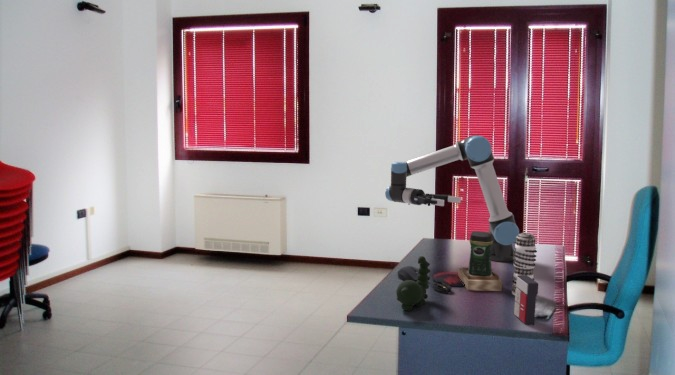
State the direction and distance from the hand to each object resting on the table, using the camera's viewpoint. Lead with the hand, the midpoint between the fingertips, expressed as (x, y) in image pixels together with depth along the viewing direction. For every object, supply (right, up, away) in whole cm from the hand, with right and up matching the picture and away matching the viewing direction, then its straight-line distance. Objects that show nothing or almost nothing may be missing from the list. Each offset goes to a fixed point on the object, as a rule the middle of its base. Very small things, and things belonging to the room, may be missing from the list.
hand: (452, 201), depth 290 cm
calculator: (+15, -41, -61) cm, 75 cm away
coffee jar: (+9, -31, -16) cm, 36 cm away
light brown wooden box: (+9, -35, -15) cm, 39 cm away
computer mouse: (-15, -35, -17) cm, 42 cm away
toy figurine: (-23, -39, -48) cm, 66 cm away
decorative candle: (+23, -37, -29) cm, 53 cm away
